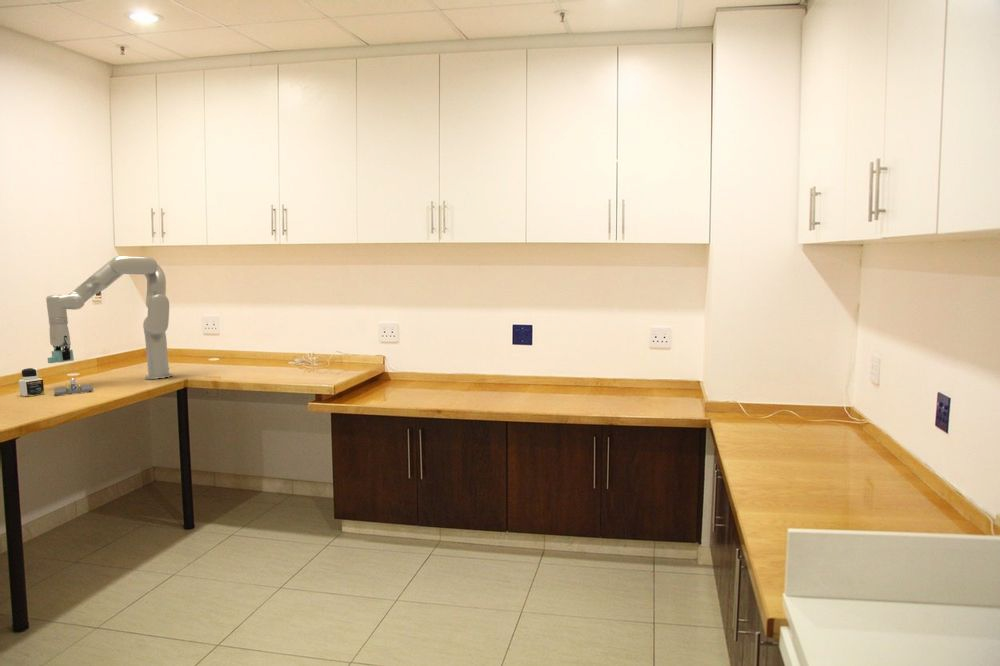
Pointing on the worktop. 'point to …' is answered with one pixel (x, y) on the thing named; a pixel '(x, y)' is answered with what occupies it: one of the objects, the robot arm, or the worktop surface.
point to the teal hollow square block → (59, 356)
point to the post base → (73, 388)
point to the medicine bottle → (30, 383)
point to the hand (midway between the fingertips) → (63, 359)
